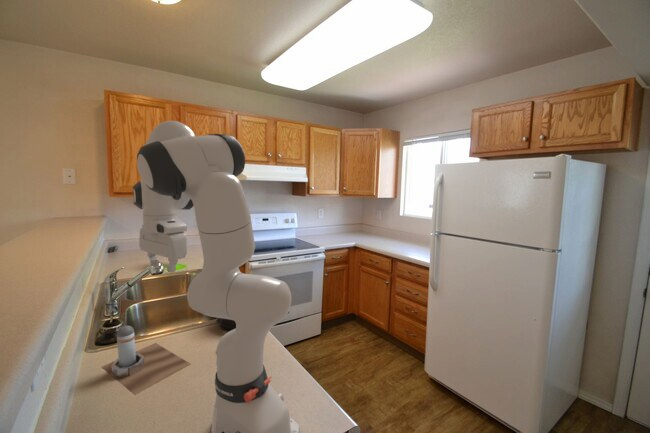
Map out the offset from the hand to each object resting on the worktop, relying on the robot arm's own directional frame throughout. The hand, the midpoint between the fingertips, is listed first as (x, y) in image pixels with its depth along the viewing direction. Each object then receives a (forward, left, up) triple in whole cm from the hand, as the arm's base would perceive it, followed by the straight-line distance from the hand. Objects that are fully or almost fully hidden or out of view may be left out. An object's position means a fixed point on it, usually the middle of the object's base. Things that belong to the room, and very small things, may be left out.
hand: (162, 268), depth 90 cm
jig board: (+8, +2, -34) cm, 35 cm away
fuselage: (+11, +7, -33) cm, 35 cm away
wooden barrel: (+8, -35, -34) cm, 50 cm away
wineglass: (+103, -62, -34) cm, 125 cm away
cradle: (+11, +6, -33) cm, 35 cm away
